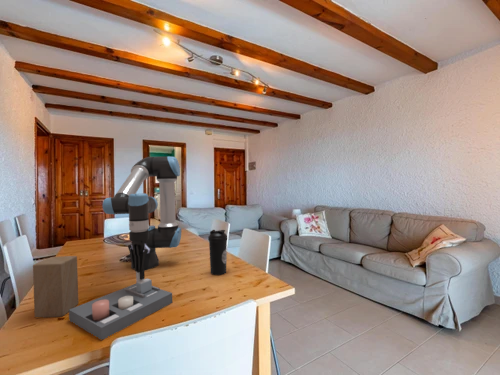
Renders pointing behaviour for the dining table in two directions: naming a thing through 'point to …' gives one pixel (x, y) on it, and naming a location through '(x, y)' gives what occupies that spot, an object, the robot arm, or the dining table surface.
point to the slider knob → (144, 286)
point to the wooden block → (55, 286)
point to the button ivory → (125, 302)
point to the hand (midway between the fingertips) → (140, 286)
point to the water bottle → (218, 252)
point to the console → (117, 317)
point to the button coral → (100, 310)
